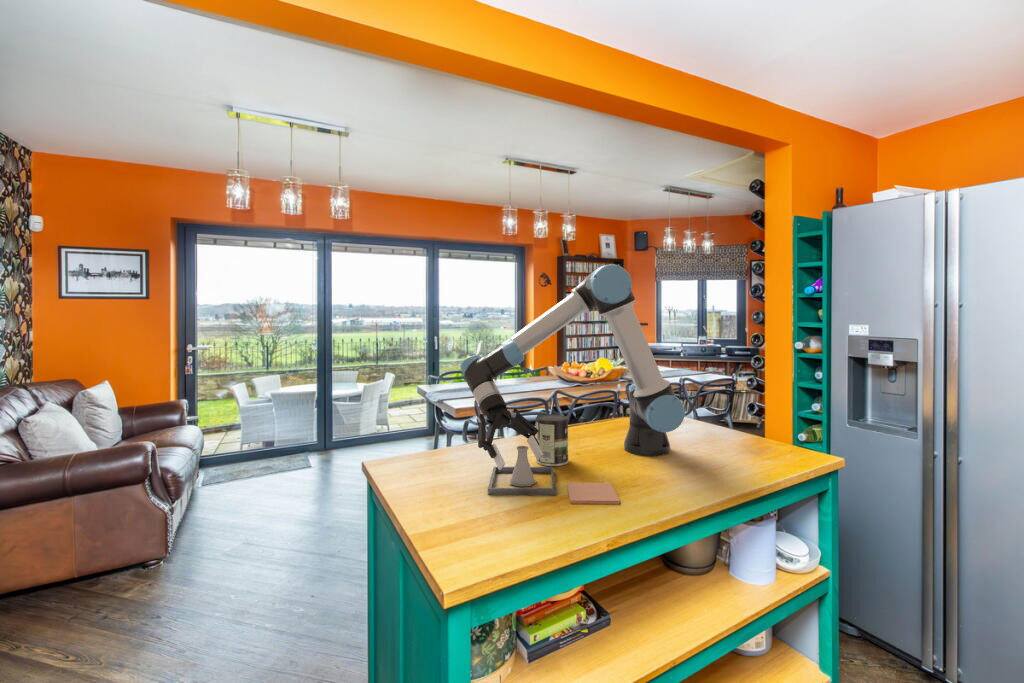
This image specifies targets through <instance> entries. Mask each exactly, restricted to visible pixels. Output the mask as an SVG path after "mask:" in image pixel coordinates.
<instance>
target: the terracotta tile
mask: <svg viewBox="0 0 1024 683" xmlns="http://www.w3.org/2000/svg"><path fill="white" fill-rule="evenodd" d="M566 488H567V492H568V498H569V502H570V504H574V505H575V504H576V505H577V504H580V505H581V504H582V505H584V504H585V505H588V504H592V505H594V504H596V505H597V504H598V505H599V504H600V505H620V504H621V500H620V498H619V496H618V494H617V492H616V490H615V488H614V486H613V483H611V482H566Z"/></svg>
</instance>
